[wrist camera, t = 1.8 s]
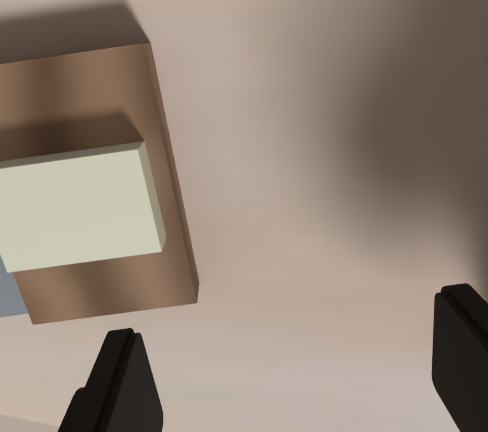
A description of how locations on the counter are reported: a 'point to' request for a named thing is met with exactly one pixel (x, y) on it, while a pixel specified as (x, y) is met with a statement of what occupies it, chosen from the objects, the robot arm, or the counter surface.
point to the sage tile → (78, 207)
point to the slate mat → (10, 294)
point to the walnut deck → (94, 136)
